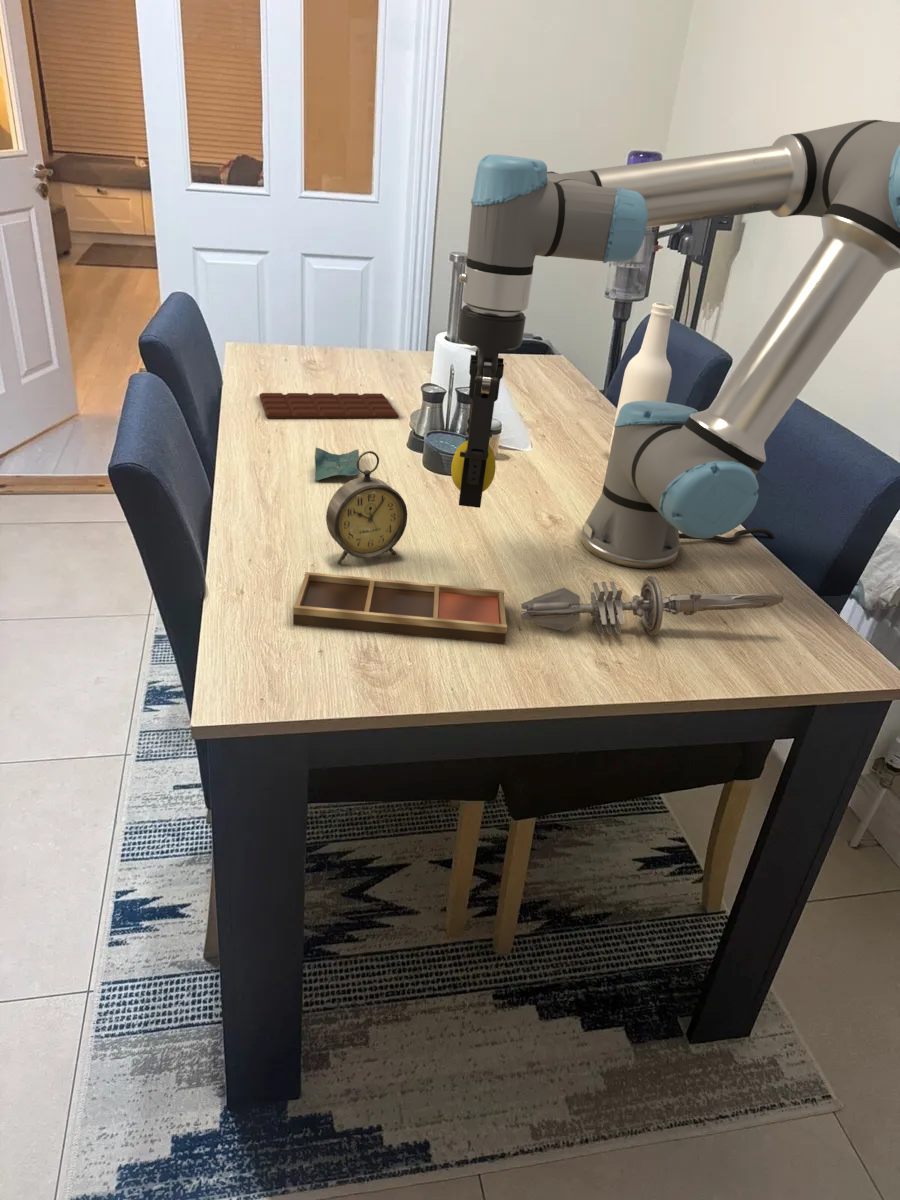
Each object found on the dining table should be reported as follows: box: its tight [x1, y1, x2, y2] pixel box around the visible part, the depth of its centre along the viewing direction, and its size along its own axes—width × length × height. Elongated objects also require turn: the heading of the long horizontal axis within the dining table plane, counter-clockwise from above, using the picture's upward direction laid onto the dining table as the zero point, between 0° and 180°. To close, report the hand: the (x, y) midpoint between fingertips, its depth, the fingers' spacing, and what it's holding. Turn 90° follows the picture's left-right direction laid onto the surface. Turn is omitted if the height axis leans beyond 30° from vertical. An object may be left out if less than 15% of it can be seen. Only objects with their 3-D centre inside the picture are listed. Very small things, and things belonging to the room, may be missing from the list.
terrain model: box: [314, 447, 361, 481], centre depth 149 cm, size 13×8×2 cm, turn 6°
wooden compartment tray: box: [292, 571, 508, 644], centre depth 109 cm, size 27×9×2 cm, turn 89°
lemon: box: [450, 440, 496, 493], centre depth 106 cm, size 6×6×8 cm
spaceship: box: [519, 574, 785, 637], centre depth 111 cm, size 8×35×8 cm
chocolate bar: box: [259, 392, 399, 419], centre depth 178 cm, size 27×14×1 cm, turn 107°
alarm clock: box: [325, 450, 408, 565], centre depth 119 cm, size 11×5×16 cm, turn 117°
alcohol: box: [608, 301, 675, 455], centre depth 162 cm, size 9×9×30 cm
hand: (470, 495), depth 108 cm, fingers closed on lemon, 5 cm apart
